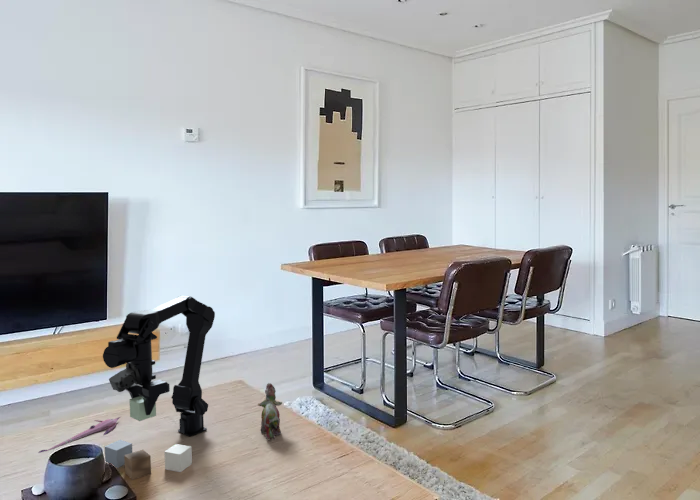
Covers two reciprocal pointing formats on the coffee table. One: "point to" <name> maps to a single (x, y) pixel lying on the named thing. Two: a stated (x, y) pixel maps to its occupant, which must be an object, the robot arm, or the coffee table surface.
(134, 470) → the walnut block
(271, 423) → the figurine
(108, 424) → the toy
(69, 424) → the coffee table surface
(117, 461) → the slate block
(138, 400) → the sage block
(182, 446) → the cream block
